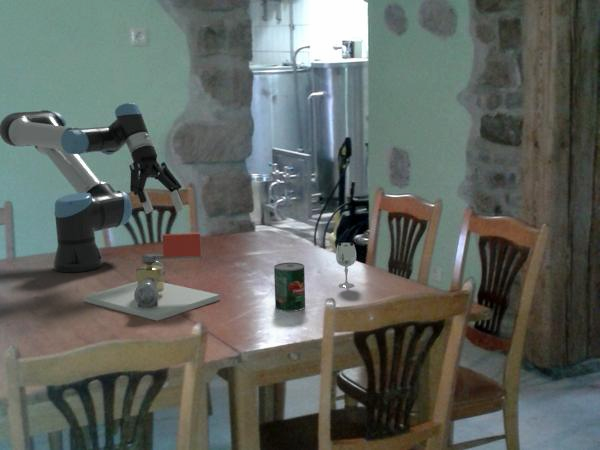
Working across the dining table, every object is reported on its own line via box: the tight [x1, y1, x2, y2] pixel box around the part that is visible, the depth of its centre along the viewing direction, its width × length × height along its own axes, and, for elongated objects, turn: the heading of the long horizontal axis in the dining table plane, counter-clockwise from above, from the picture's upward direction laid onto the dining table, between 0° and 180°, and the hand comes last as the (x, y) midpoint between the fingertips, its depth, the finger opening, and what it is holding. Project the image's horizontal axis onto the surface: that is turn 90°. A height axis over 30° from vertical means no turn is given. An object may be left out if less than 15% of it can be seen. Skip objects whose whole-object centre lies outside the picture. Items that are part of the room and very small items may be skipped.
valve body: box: [134, 260, 166, 307], centre depth 212 cm, size 26×7×9 cm, turn 6°
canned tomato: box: [273, 261, 306, 312], centre depth 204 cm, size 8×8×11 cm
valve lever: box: [141, 232, 202, 265], centre depth 211 cm, size 16×4×7 cm, turn 96°
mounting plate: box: [83, 281, 220, 322], centre depth 213 cm, size 30×22×2 cm
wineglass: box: [335, 242, 357, 289], centre depth 222 cm, size 6×6×12 cm
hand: (165, 211), depth 241 cm, fingers open, 13 cm apart
